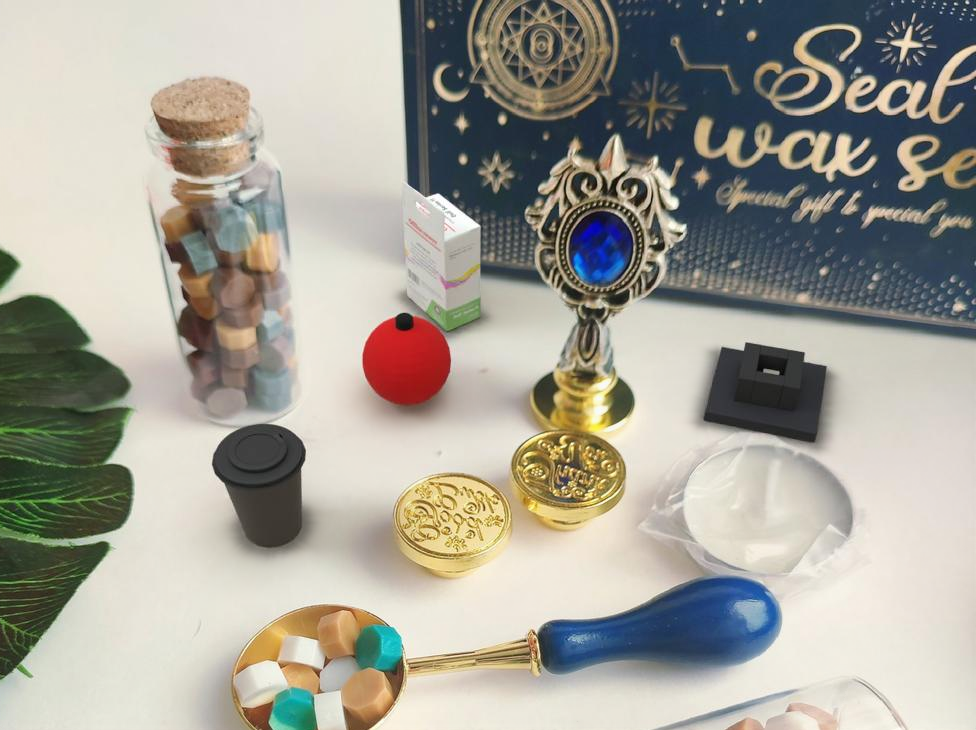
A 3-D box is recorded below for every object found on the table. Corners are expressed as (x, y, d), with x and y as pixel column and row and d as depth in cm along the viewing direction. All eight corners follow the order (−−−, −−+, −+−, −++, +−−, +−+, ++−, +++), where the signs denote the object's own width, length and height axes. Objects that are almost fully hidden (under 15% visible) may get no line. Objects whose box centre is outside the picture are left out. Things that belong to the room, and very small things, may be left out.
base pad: (719, 355, 116) (724, 332, 114) (824, 374, 114) (831, 352, 112) (703, 420, 109) (707, 397, 107) (814, 442, 107) (821, 420, 104)
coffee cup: (332, 509, 101) (321, 430, 94) (288, 570, 96) (273, 491, 89) (258, 484, 103) (242, 405, 96) (211, 542, 98) (190, 464, 91)
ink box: (483, 318, 121) (484, 200, 110) (446, 333, 119) (443, 215, 108) (441, 281, 126) (437, 165, 115) (405, 295, 124) (398, 178, 113)
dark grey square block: (740, 364, 113) (745, 341, 111) (798, 374, 112) (805, 351, 110) (733, 400, 109) (738, 377, 107) (793, 411, 108) (800, 388, 106)
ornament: (377, 362, 116) (370, 284, 108) (459, 372, 115) (458, 293, 107) (356, 417, 110) (347, 339, 102) (442, 428, 109) (440, 349, 101)
